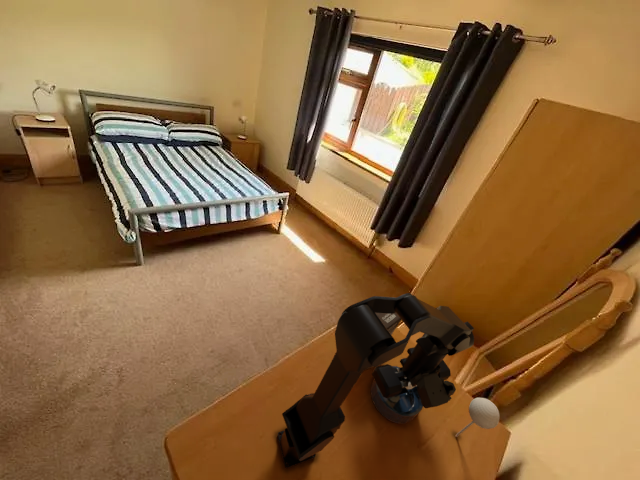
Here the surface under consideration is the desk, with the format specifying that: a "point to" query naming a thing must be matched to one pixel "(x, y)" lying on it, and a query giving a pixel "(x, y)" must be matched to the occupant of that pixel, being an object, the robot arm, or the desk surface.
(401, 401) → the bowl
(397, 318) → the coffee box
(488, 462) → the desk surface
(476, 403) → the lollipop
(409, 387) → the milkshake
